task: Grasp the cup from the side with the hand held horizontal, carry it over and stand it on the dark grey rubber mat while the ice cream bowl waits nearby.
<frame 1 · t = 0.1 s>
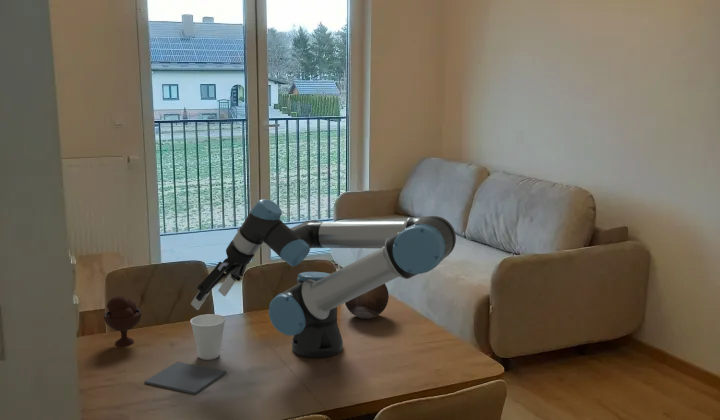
hand: (208, 299, 203), 15 cm above the table, tool tilted 35°, fingers open, 13 cm apart
mat: (185, 378, 186), on the table
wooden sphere: (365, 317, 234), on the table
ice cream bowl: (124, 343, 210), on the table
cup: (209, 356, 201), on the table
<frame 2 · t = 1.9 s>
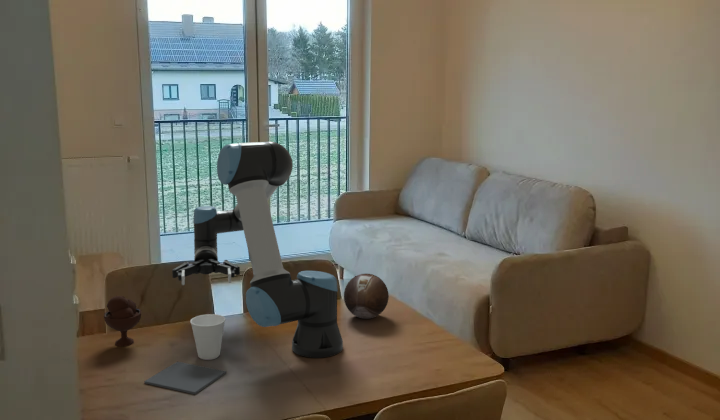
hand: (206, 279, 206), 20 cm above the table, tool horizontal, fingers open, 13 cm apart
nothing on the table moved.
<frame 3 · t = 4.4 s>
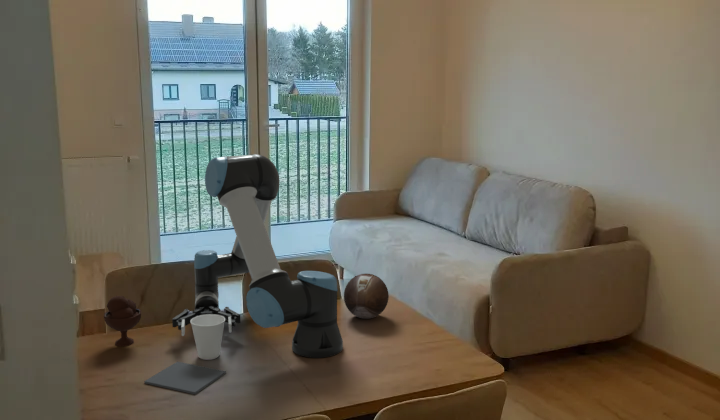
hand: (206, 329, 204), 6 cm above the table, tool horizontal, fingers open, 13 cm apart
nothing on the table moved.
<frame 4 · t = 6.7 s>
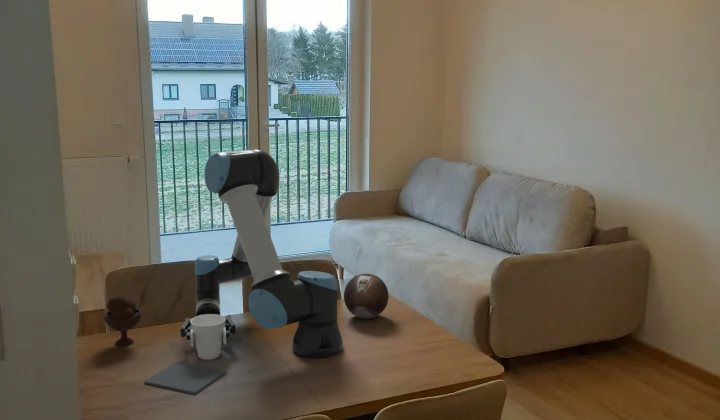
hand: (208, 340, 195), 7 cm above the table, tool horizontal, fingers closed on cup, 8 cm apart
cup: (209, 356, 201), on the table, touching gripper
everything else where it was.
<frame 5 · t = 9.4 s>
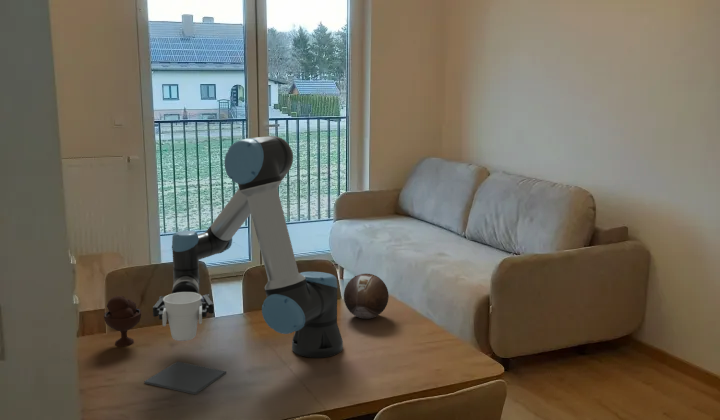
hand: (182, 319, 178), 18 cm above the table, tool horizontal, fingers closed on cup, 8 cm apart
cup: (183, 337, 184), point 11 cm above the table, touching gripper
everything else where it was.
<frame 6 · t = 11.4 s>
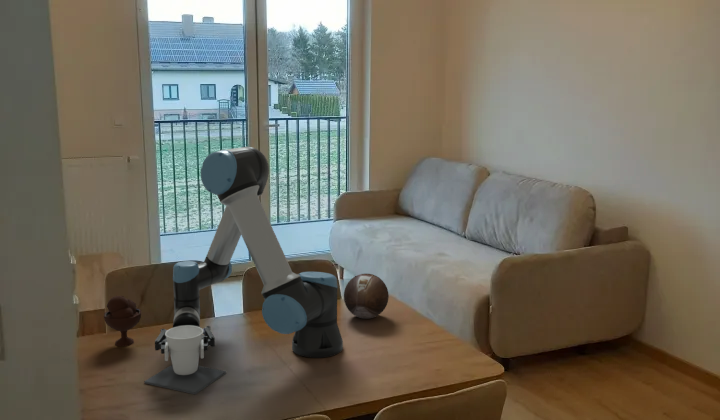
hand: (184, 354, 180), 9 cm above the table, tool horizontal, fingers closed on cup, 8 cm apart
cup: (185, 371, 186), point 2 cm above the table, touching gripper
everything else where it was.
when the fingers open (9 cm above the table, at t = 12.1 s): cup moves 3 cm, resting on mat.
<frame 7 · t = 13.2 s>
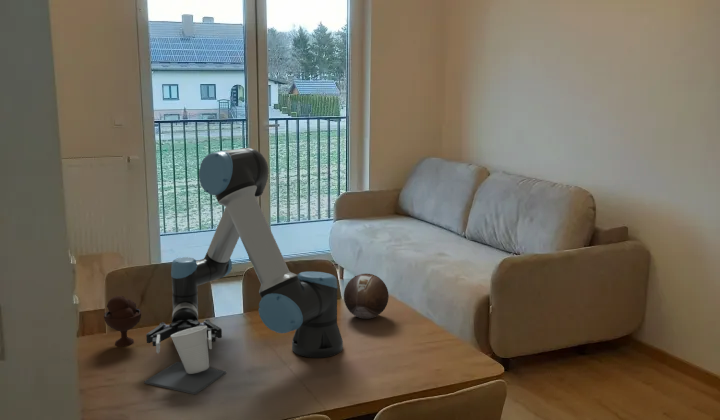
hand: (184, 346, 185), 9 cm above the table, tool horizontal, fingers open, 13 cm apart
cup: (198, 371, 187), point 1 cm above the table, touching gripper, mat
everything else where it was.
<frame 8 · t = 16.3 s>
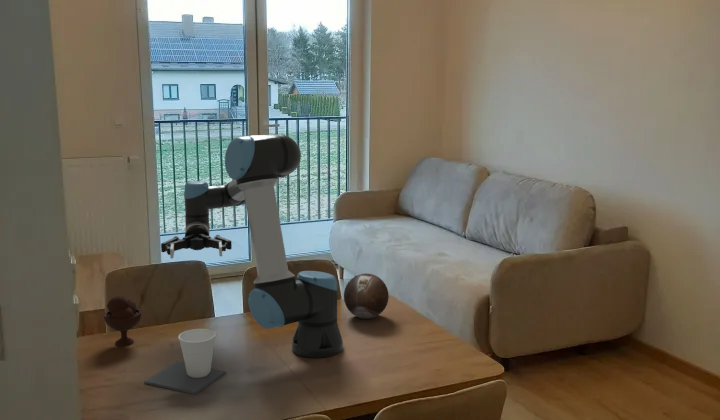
hand: (196, 252, 198), 30 cm above the table, tool horizontal, fingers open, 13 cm apart
cup: (198, 374, 187), resting on mat
everything else where it was.
at the end: cup inside the target area on the mat (3.5 cm from its centre), point 0.4 cm above the mat's base; cup tilted 0°; the gripper is holding nothing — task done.
